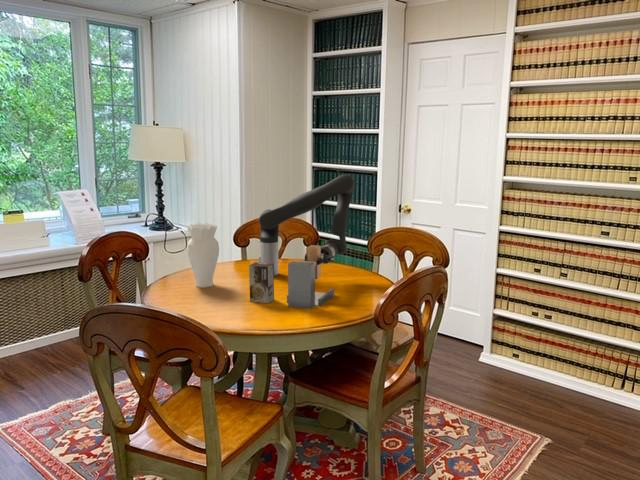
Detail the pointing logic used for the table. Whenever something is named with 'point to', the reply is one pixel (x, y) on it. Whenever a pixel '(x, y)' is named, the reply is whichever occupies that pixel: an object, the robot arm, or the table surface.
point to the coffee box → (261, 282)
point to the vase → (203, 252)
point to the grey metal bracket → (304, 286)
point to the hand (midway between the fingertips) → (312, 262)
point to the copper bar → (315, 258)
